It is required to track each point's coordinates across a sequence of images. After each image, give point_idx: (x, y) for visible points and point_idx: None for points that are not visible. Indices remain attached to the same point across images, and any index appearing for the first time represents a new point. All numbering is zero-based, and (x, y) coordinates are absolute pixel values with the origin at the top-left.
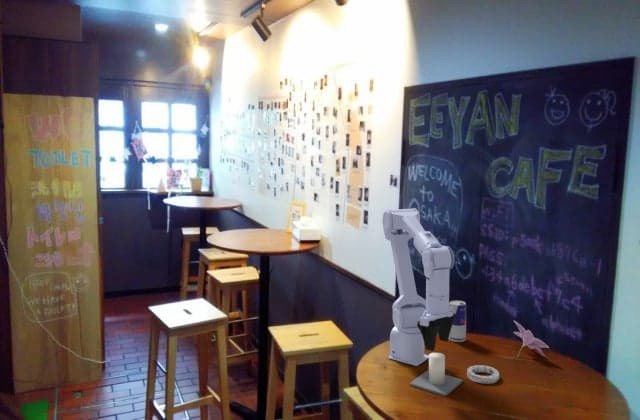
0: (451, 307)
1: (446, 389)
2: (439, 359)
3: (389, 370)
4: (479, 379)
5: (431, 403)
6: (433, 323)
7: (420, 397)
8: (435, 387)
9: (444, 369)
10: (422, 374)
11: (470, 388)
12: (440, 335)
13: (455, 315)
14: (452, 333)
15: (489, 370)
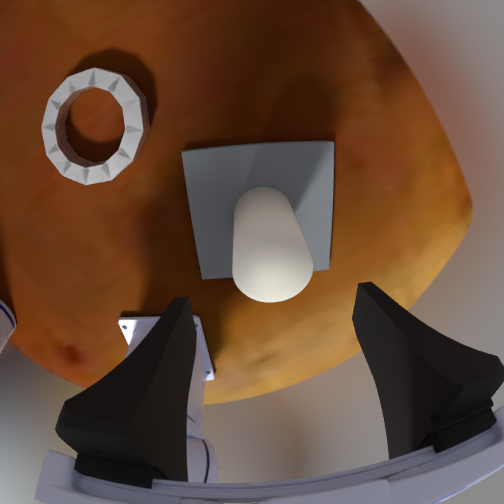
0: (73, 502)
1: (298, 156)
2: (301, 241)
3: (273, 345)
4: (143, 103)
5: (395, 157)
6: (439, 430)
7: (379, 202)
8: (308, 194)
9: (260, 208)
10: None
11: (211, 101)
12: (191, 350)
13: (80, 432)
14: (5, 330)
15: (58, 126)
